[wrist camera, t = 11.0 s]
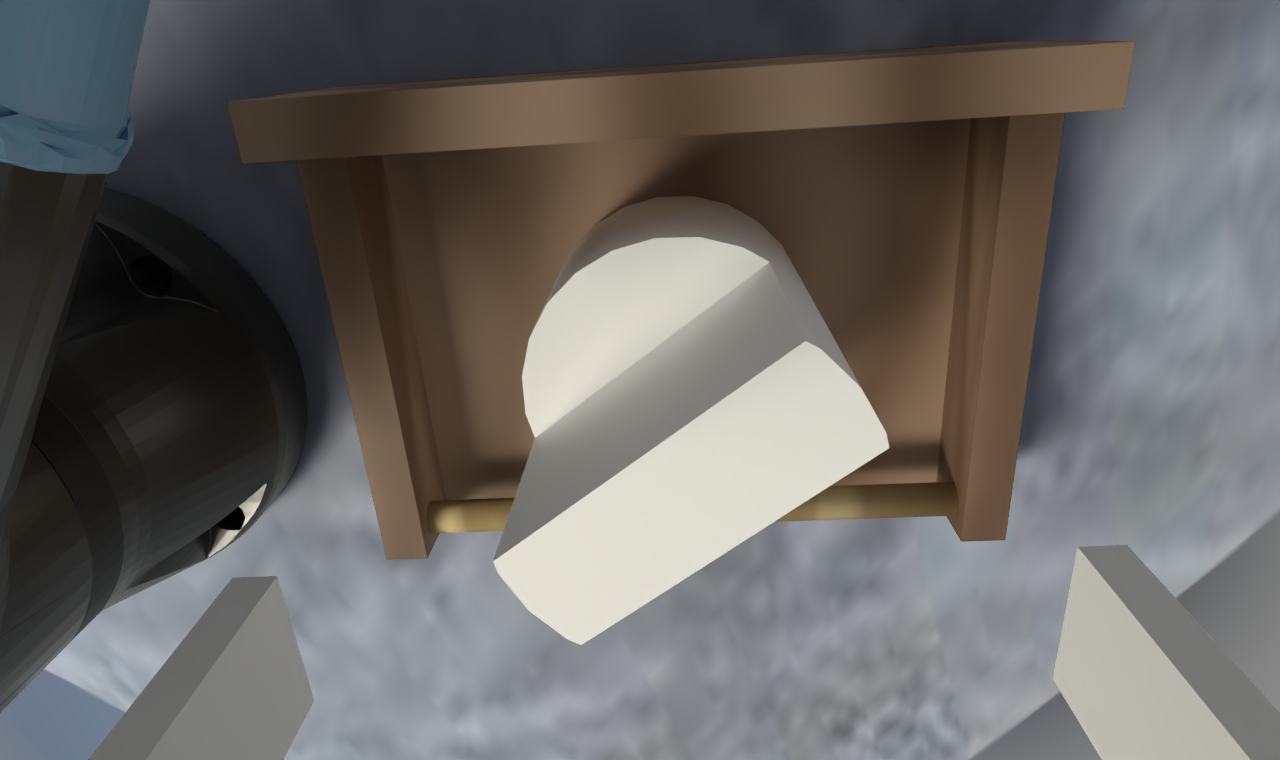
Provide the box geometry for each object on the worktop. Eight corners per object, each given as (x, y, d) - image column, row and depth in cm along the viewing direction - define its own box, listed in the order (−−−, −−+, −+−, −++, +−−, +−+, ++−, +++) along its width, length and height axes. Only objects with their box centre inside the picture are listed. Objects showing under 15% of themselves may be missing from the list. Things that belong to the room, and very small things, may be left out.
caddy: (418, 501, 32) (356, 614, 26) (335, 86, 26) (226, 102, 20) (965, 481, 31) (1042, 595, 25) (1015, 41, 25) (1135, 41, 19)
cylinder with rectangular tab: (700, 137, 25) (724, 210, 14) (856, 342, 28) (977, 537, 17) (498, 304, 28) (386, 476, 17) (658, 479, 30) (651, 726, 19)
